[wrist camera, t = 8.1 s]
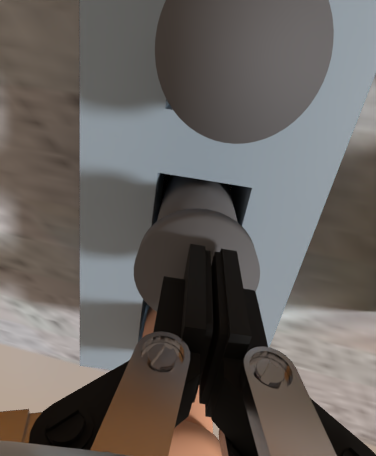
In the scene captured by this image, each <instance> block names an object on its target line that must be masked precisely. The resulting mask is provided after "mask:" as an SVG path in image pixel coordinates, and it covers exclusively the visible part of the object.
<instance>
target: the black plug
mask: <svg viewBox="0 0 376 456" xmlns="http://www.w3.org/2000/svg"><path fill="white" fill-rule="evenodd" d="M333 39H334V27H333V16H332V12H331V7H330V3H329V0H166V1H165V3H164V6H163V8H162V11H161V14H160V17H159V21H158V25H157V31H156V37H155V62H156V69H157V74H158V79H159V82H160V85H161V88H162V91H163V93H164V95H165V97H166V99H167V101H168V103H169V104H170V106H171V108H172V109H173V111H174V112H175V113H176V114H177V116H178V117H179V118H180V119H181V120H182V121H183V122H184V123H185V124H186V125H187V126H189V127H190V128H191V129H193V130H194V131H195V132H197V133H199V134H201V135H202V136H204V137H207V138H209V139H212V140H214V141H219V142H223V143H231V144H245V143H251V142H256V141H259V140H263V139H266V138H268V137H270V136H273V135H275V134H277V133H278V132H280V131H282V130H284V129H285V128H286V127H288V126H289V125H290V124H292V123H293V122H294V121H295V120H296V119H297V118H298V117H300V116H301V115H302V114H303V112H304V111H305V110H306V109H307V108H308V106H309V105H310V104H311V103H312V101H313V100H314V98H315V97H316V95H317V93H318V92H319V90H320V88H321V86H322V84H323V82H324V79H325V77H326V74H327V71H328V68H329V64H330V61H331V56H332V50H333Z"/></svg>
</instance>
